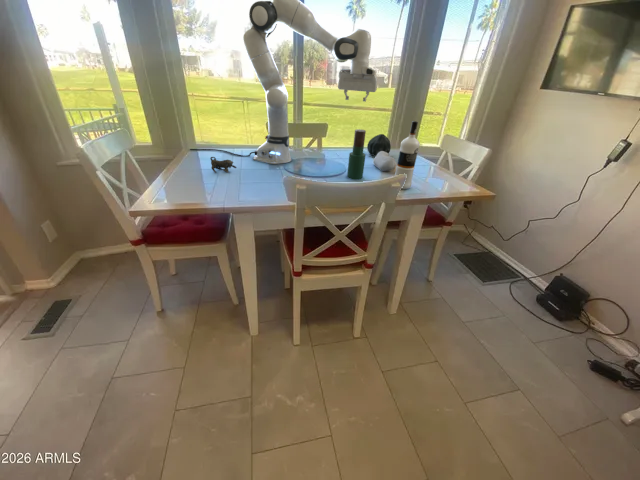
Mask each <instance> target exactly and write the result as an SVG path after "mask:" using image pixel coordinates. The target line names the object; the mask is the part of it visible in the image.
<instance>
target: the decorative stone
mask: <svg viewBox="0 0 640 480" xmlns="http://www.w3.org/2000/svg"><path fill="white" fill-rule="evenodd" d="M389 154H390V153H389ZM389 154H388V153H387V152H384V151H380V152H379V153H378V154H377V155H376V156H375V157H374V158H373V161H372V163H373V165H374V167H376V168H377V169H378V170H380V171H382V172H389V171H393V170H394V169H396V160H395V158H394V157H392V156H390V155H389Z"/></svg>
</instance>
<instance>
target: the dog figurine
mask: <svg viewBox="0 0 640 480" xmlns="http://www.w3.org/2000/svg"><path fill="white" fill-rule="evenodd" d="M209 159H210V164H211V167H210V168H211V171H213V172H214V174H216V173H217V171H216V170H219V171H223V172H224V173H229V169H231V168H234V169H237V166H236V165H234V161H233V160H231V159H224V160H219V159H218V160H217V158H216V157H215V156H210V158H209Z"/></svg>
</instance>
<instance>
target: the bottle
mask: <svg viewBox="0 0 640 480" xmlns="http://www.w3.org/2000/svg"><path fill="white" fill-rule="evenodd" d="M364 148H365V146H364V147H355V146H353V145H352V151H351V152H349V155H348V164H347V173H346V177H347V178H348V179H350V180H353V181H357V180H363V177H364V170H365V162H366V153H364Z"/></svg>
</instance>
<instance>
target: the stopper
mask: <svg viewBox="0 0 640 480" xmlns="http://www.w3.org/2000/svg"><path fill="white" fill-rule="evenodd" d="M366 132H367V130H365V129H360V128H359V129H357V128H356V129H354V136H353V145H352V147H353V146H355V147H364V148H365V141H366V134H367V133H366Z"/></svg>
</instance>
